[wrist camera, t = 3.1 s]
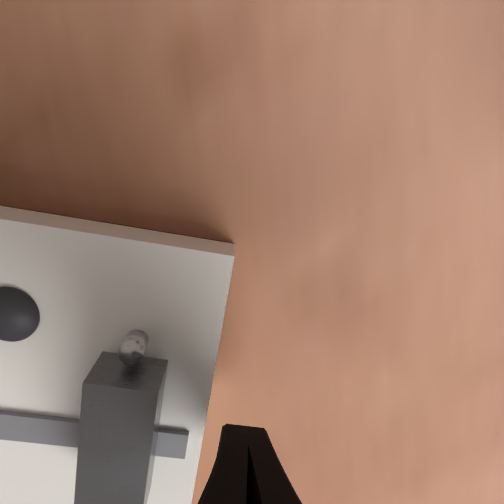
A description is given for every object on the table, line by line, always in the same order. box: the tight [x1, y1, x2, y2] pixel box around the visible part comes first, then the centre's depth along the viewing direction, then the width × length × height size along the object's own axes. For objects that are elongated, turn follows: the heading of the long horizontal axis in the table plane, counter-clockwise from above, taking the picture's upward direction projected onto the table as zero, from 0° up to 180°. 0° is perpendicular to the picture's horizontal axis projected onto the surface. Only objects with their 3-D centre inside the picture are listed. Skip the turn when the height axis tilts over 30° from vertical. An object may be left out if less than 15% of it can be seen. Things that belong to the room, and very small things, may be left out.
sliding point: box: [74, 329, 168, 504], centre depth 11 cm, size 2×6×2 cm, turn 170°
